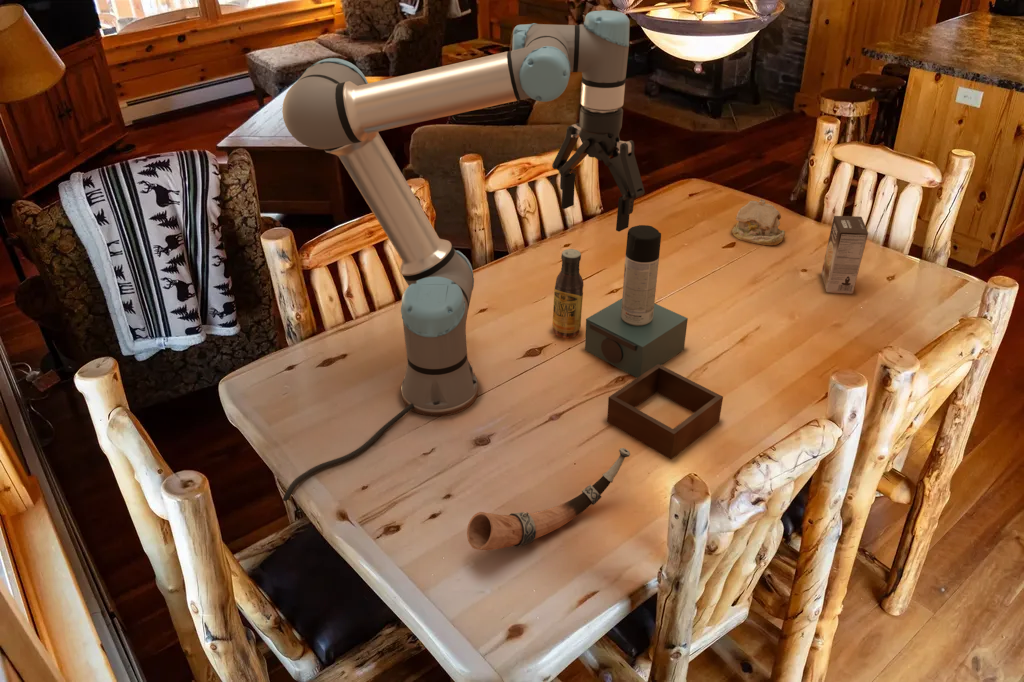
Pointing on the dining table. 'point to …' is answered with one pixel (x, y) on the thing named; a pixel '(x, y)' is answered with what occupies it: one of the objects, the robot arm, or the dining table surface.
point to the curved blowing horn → (535, 517)
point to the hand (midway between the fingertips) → (594, 217)
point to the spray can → (640, 275)
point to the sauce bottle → (568, 296)
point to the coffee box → (844, 254)
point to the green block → (635, 338)
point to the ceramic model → (758, 224)
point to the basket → (655, 431)
